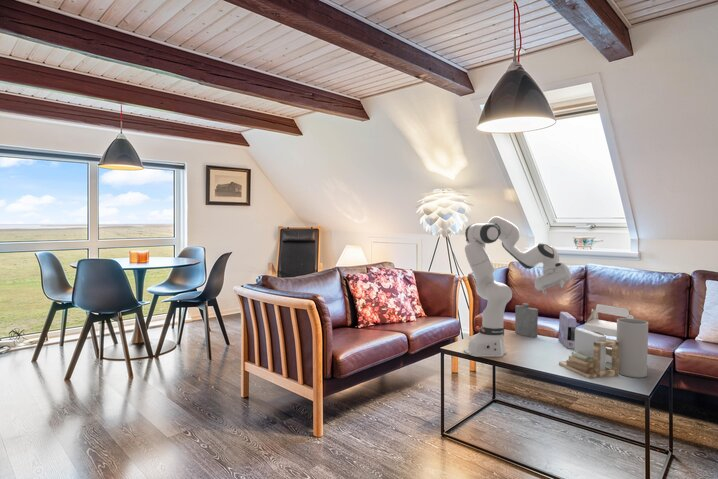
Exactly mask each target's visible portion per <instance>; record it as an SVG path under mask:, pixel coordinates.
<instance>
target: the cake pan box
mask: <svg viewBox="0 0 718 479" xmlns="http://www.w3.org/2000/svg"><path fill="white" fill-rule="evenodd" d="M558 326H559V327H558V341H559V342H560V343H561V344H562V345H563V346H564V347H565V348H566V349H571V350H575V329H577V318H575V317H574V316H573V315H572V314H570V313H569V312H568V311H559V325H558Z"/></svg>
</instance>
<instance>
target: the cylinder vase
mask: <svg viewBox="0 0 718 479" xmlns="http://www.w3.org/2000/svg"><path fill="white" fill-rule="evenodd" d="M616 323H617V337H616V340H615V341H619V371H618V375H621V376H625V377H628V378H636V379H639V378H640V379H641V378H642V379H643V378H646V377H647V375H648V351H649V346H648V345H649V343H648V342H649V321H646V320H642V319H639V318H638V319H637V318H634V319H629V318H627V317H620V318H617V319H616Z"/></svg>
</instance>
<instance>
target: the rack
mask: <svg viewBox="0 0 718 479" xmlns="http://www.w3.org/2000/svg"><path fill="white" fill-rule="evenodd" d="M601 346H606V347H609V346H611V349H612V363H611V367H610V366H609V365H606V364H605V371H600V353H601ZM566 363H567V360H562V361H558V365H559V366H561V367H564V368H565V369H568V370H569V371H572V372H574V373H576V374H578V375H579V376H582V377H584V378H586V379H594V378H595V379H596V378H605V377H607V378H608V377H618V376H619V373H618V371H619V341H616V340H606V341H601V342H594V355H593V368H594V373H591V374H585V373H582V372H580V371H578V370H576V369H574V368H572V367H570V366H567V365H566Z"/></svg>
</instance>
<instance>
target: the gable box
mask: <svg viewBox="0 0 718 479" xmlns="http://www.w3.org/2000/svg"><path fill="white" fill-rule="evenodd" d="M599 314H606V315H611V316H617V317H621V318H629V319H635V315H633V314H631V310H629V309H628V307H619V306H614V305H608V304H601V303H598V304H596V306H595V308H591V313H590V315H589V316H588V318H587V319H586V321H585V322H584V329H585V330H588V331H591V332H594V333H597V334H600V335H603V336H606V337H615V338H617V322H613V321H607V320H602V319H599ZM605 363H610V364H612V348H608V347H606V361H605Z"/></svg>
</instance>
